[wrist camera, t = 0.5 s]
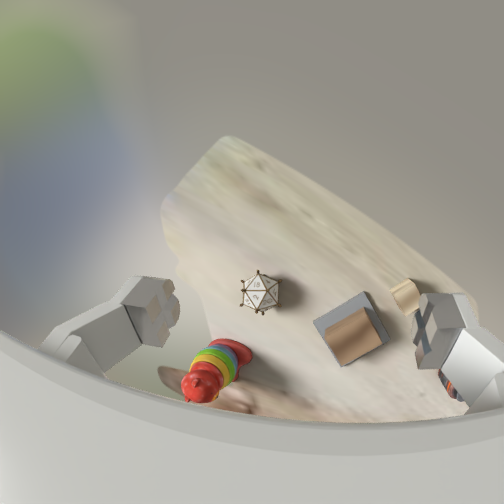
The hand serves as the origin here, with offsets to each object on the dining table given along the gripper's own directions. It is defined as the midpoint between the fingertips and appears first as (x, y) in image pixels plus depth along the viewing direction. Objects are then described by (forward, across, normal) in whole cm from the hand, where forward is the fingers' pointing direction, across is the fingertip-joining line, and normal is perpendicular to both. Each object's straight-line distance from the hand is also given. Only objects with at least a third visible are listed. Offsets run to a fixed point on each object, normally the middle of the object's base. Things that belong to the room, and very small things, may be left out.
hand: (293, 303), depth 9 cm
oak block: (+40, +18, -31) cm, 54 cm away
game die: (+41, -10, -32) cm, 53 cm away
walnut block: (+36, +8, -38) cm, 53 cm away
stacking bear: (+34, -19, -48) cm, 62 cm away
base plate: (+37, +8, -39) cm, 54 cm away
